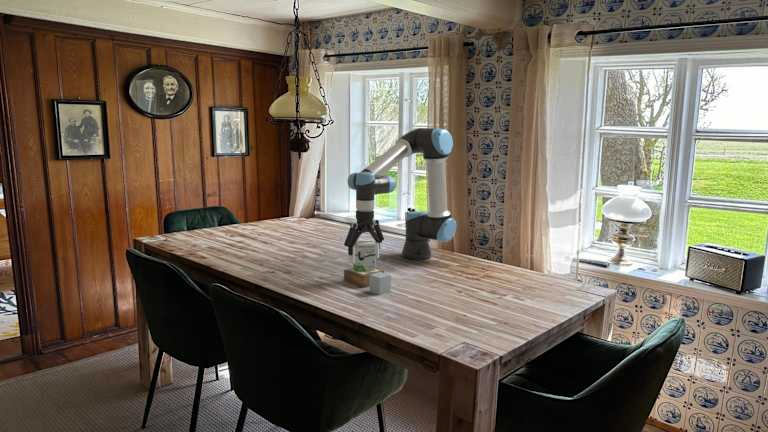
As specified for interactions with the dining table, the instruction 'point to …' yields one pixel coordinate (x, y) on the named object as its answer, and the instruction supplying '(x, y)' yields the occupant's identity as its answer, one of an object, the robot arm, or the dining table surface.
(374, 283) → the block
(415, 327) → the dining table surface
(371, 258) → the ink box
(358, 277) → the pedestal
